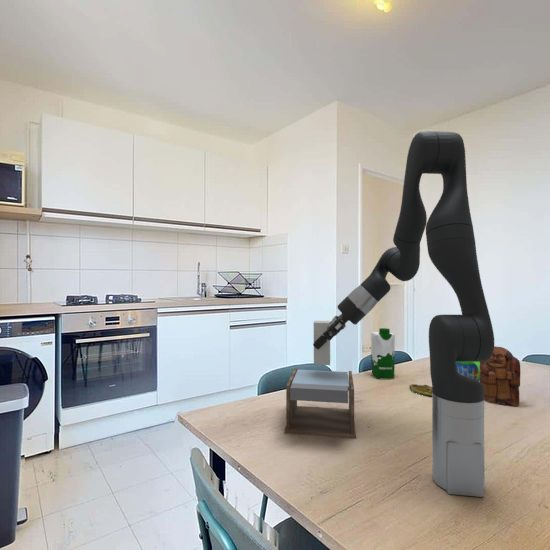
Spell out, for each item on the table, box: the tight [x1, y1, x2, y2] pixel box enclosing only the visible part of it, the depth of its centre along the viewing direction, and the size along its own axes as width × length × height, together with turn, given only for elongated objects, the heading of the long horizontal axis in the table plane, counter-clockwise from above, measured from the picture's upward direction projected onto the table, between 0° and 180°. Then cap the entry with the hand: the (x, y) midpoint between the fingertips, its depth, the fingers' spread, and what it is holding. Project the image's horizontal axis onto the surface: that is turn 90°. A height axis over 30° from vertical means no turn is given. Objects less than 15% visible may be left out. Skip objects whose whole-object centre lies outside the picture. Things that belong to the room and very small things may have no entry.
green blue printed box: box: [456, 361, 481, 382], centre depth 139 cm, size 16×10×10 cm
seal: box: [409, 384, 432, 398], centre depth 128 cm, size 9×5×15 cm
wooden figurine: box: [479, 345, 521, 407], centre depth 119 cm, size 12×6×18 cm, turn 52°
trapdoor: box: [290, 369, 349, 404], centre depth 99 cm, size 22×15×3 cm
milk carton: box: [370, 327, 396, 380], centre depth 149 cm, size 9×9×20 cm
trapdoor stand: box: [284, 367, 357, 439], centre depth 102 cm, size 18×18×12 cm
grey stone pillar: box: [313, 320, 331, 366], centre depth 105 cm, size 5×5×12 cm
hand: (315, 345), depth 106 cm, fingers closed on grey stone pillar, 5 cm apart
